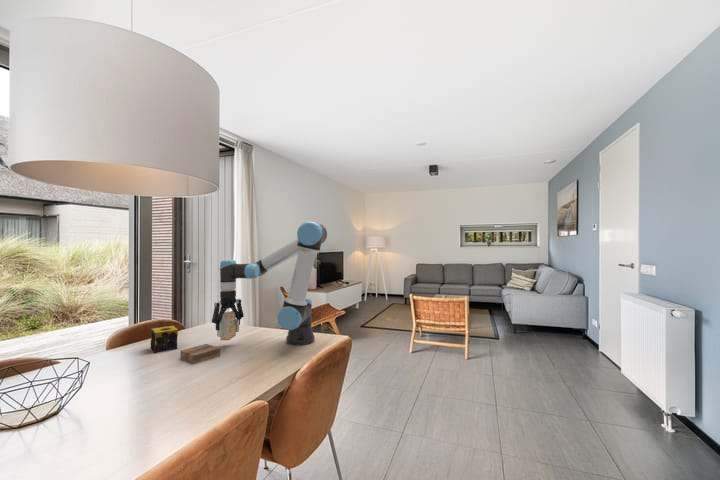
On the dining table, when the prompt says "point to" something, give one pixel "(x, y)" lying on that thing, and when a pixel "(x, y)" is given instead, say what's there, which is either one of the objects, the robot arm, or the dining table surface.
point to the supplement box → (228, 325)
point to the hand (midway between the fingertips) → (228, 334)
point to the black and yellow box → (164, 339)
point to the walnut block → (200, 353)
